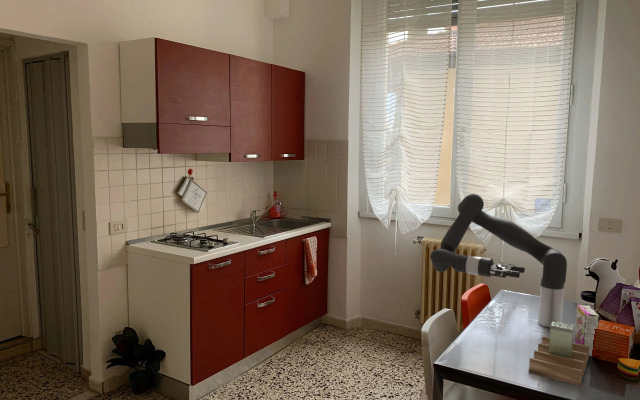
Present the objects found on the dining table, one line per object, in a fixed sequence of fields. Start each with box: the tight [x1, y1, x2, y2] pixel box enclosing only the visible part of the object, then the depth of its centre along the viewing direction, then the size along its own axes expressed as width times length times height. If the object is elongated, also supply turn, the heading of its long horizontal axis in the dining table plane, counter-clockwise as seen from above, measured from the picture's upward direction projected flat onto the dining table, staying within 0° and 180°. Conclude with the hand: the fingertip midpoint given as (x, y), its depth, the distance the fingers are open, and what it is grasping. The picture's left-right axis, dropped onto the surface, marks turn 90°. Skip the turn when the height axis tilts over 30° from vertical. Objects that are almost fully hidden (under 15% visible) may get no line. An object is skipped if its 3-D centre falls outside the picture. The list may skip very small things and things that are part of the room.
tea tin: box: [549, 321, 575, 359], centre depth 175 cm, size 5×7×14 cm
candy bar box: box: [573, 304, 600, 357], centre depth 188 cm, size 11×5×16 cm, turn 168°
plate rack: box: [528, 336, 590, 387], centre depth 175 cm, size 25×16×5 cm, turn 146°
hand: (522, 272), depth 188 cm, fingers open, 8 cm apart
